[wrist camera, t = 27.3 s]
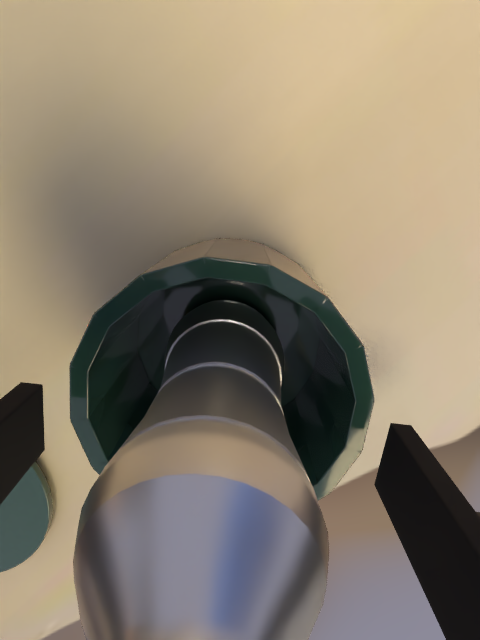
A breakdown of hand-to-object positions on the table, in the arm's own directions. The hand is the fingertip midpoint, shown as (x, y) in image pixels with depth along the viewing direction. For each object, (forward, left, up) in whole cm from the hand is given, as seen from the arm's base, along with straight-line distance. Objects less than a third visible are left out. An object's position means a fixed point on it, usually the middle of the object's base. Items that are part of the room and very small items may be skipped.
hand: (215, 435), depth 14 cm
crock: (0, 0, -11) cm, 11 cm away
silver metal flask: (0, 0, -10) cm, 10 cm away
